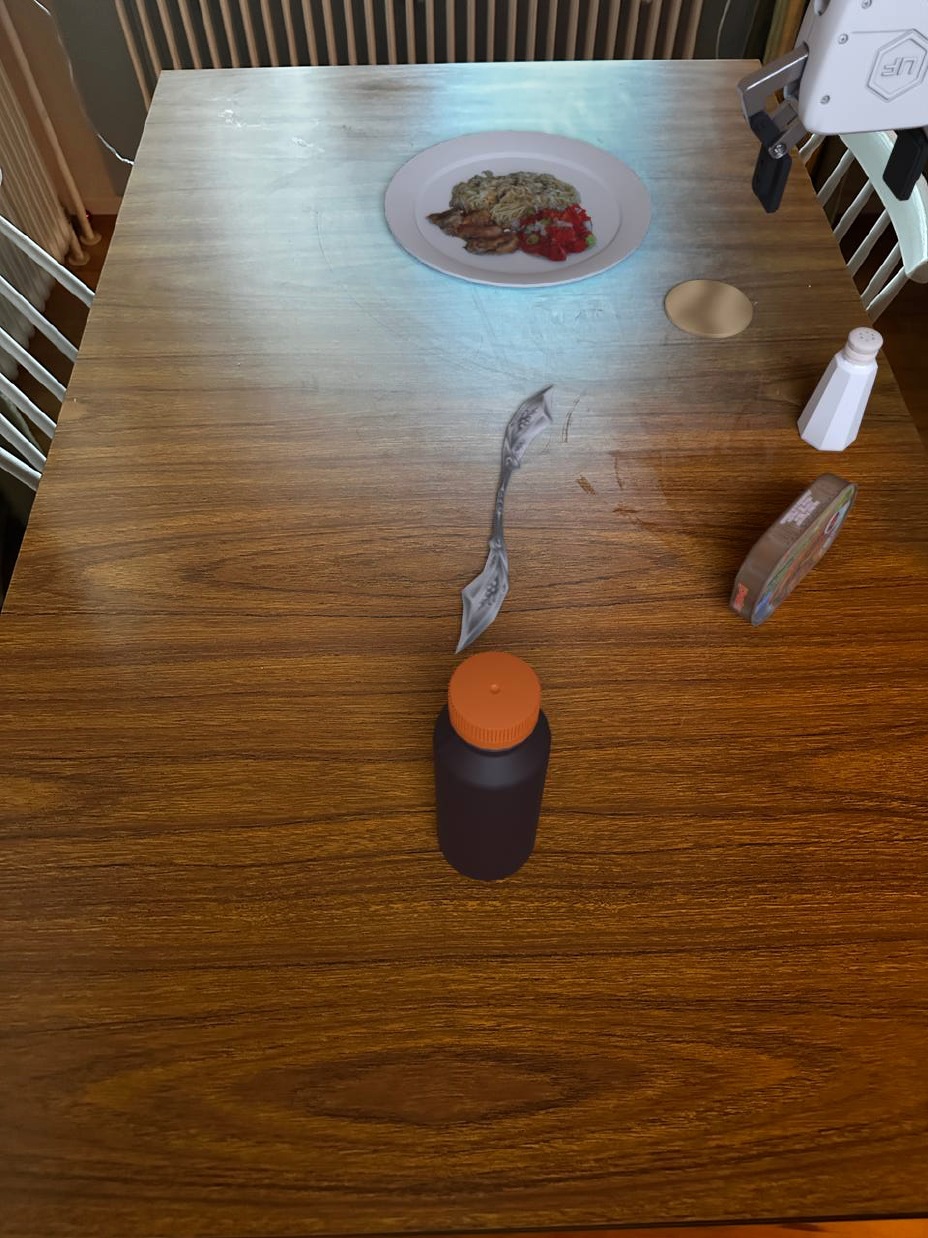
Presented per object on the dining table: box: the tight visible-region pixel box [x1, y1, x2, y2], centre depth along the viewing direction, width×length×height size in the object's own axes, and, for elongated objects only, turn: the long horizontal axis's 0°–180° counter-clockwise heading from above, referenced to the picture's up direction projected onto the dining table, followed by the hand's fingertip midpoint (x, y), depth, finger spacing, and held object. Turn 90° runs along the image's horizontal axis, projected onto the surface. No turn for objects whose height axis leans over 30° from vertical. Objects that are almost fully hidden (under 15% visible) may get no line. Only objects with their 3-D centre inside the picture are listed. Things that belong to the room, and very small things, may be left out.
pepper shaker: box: [797, 326, 884, 452], centre depth 84 cm, size 5×5×11 cm
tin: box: [727, 472, 859, 627], centre depth 76 cm, size 15×3×8 cm, turn 137°
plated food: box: [383, 130, 653, 289], centre depth 107 cm, size 30×30×3 cm
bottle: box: [431, 650, 553, 882], centre depth 58 cm, size 7×7×20 cm
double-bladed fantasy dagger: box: [454, 385, 556, 655], centre depth 83 cm, size 32×1×5 cm
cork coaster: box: [664, 279, 754, 339], centre depth 99 cm, size 9×9×1 cm
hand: (830, 195), depth 68 cm, fingers open, 9 cm apart
